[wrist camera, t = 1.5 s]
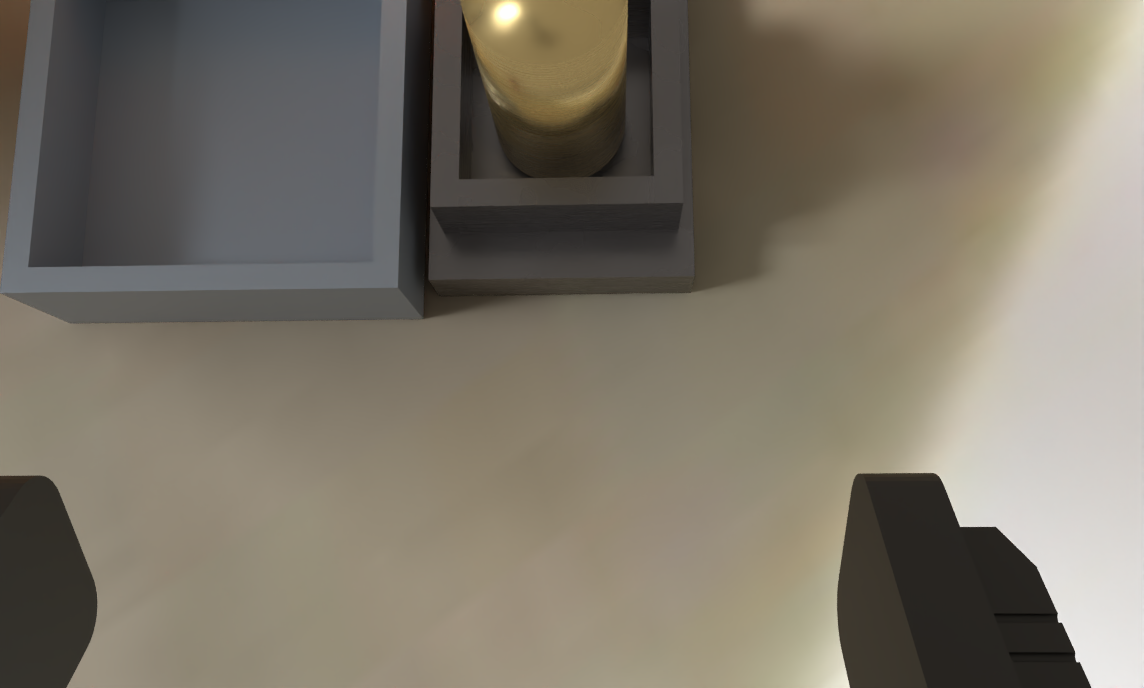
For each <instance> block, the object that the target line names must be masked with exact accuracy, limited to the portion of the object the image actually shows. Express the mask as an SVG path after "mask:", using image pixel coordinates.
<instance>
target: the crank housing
mask: <svg viewBox="0 0 1144 688" xmlns="http://www.w3.org/2000/svg"><path fill="white" fill-rule="evenodd" d="M694 277H695V269H694V231H693V192H692V154H691V115H690V77H689V38H688V0H628V17H627V70H626V121H625V131H624V136H623V139H622V142H621V145H620V147H619V149H618V151H617V152H616V154H615V155H614V156H613V158H612V159H611V160H610V161H609V162H608V163H607V164H606V165H605V166H604V167H603V168H602V169H601V170H599V171H597V172H596V173H594V174H593V175H591V176H589V177H569V178H533V177H531V176H529V175H527V174H525V173H524V172H522V171H521V170H520V169H518V168H517V167H516V166H515V165H514V164H513V163H512V162H511V161H510V160H509V159H508V157H507V156H506V154H505V153H504V151H503V149H502V147H501V144H500V142H499V139H498V135H497V132H496V128H495V125H494V121H493V117H492V114H491V110H490V107H489V103H488V100H487V96H486V93H485V89H484V85H483V82H482V78H481V75H480V71H479V68H478V64H477V60H476V57H475V53H474V50H473V46H472V43H471V39H470V36H469V32H468V28H467V25H466V21H465V18H464V14H463V11H462V7H461V2H460V0H435V29H434V69H433V109H432V149H431V189H430V239H429V279H428V280H429V281H430V283H431V284H432V286H433V287H434V289H435V290H436V292H437V293H438V295H439V296H469V295H546V294H623V293H690V292H691V288H692V284H693V281H694Z"/></svg>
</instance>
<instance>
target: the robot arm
mask: <svg viewBox="0 0 1144 688" xmlns="http://www.w3.org/2000/svg"><path fill="white" fill-rule="evenodd" d="M837 614H838V628H839V637H840V643H841V649H842V653H843V658H844V662H845V667H846V671H847V676H848V680H849V685H850V688H1091V686H1090V684H1089V681H1088V679H1087V677H1086V675H1085V673H1084V670H1083V668H1082V666H1081V664H1080V662H1076V660H1075V651H1074V648H1073V646H1072V644H1071V642H1070V640H1069V637H1068V635H1067V633H1066V631H1065V629H1064V626H1063V624H1062V623H1059V622H1058V619H1057V614H1058V613H1057V611H1056V609H1055V607H1054V604H1053V602H1052V600H1051V598H1050V596H1049V593H1048V591H1047V589H1046V587H1045V585H1044V582H1043V580H1042V578H1041V576H1040V574H1039V571H1038V569H1037V567H1036V566H1035V565H1034V564H1033V563H1032V562H1031V561H1030V560H1029V559H1028V558H1027V557H1026V556H1025V555H1024V554H1023V553H1022V552H1021V551H1020V550H1019V549H1018V548H1017V547H1016V546H1015V545H1014V544H1013V543H1012V542H1011V541H1010V540H1009V539H1008V538H1007V537H1006V536H1005V535H1003V534H1002V533H1001V532H1000V531H999V530H998V529H997V528H996V527H960V526H959V524H958V521H957V518H956V516H955V513H954V511H953V508H952V506H951V503H950V500H949V498H948V495H947V493H946V490H945V488H944V485H943V483H942V481H941V479H940V478H939V476H938V475H936V474H934V473H883V474H857V475H856V477H855V479H854V482H853V485H852V491H851V497H850V504H849V511H848V518H847V525H846V532H845V539H844V546H843V553H842V560H841V567H840V574H839V581H838V592H837ZM96 616H97V592H96V587H95V583H94V580H93V577H92V574H91V572H90V569H89V567H88V564H87V562H86V559H85V557H84V554H83V552H82V549H81V547H80V544H79V541H78V539H77V536H76V534H75V531H74V529H73V526H72V524H71V521H70V519H69V516H68V514H67V511H66V509H65V506H64V503H63V501H62V498H61V496H60V493H59V491H58V489H57V487H56V486H55V484H54V483H53V482H52V481H51V480H50V479H49V478H47V477H45V476H0V688H66V687H67V685H68V683H69V682H70V680H71V678H72V676H73V674H74V672H75V670H76V668H77V666H78V664H79V662H80V660H81V659H82V657H83V655H84V653H85V651H86V649H87V647H88V645H89V643H90V640H91V637H92V634H93V631H94V627H95V622H96Z"/></svg>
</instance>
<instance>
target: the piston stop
mask: <svg viewBox="0 0 1144 688" xmlns="http://www.w3.org/2000/svg"><path fill="white" fill-rule="evenodd" d="M460 2H461V7H462V11H463V14H464V18H465V21H466V25H467V28H468V32H469V36H470V39H471V43H472V46H473V50H474V53H475V57H476V60H477V64H478V68H479V71H480V75H481V78H482V82H483V85H484V89H485V93H486V96H487V100H488V103H489V107H490V110H491V114H492V117H493V121H494V125H495V128H496V132H497V135H498V139H499V142H500V144H501V147H502V149H503V151H504V153H505V154H506V156H507V157H508V159H509V160H510V161H511V162H512V163H513V164H514V165H515V166H516V167H517V168H518V169H520V170H521V171H522V172H524V173H525V174H527V175H529V176H531V177H533V178H569V177H589V176H591V175H593V174H594V173H596V172H597V171H599V170H601V169H602V168H603V167H604V166H605V165H606V164H607V163H608V162H609V161H610V160H611V159H612V158H613V156H614V155H615V154H616V152H617V151H618V149H619V147H620V145H621V142H622V139H623V136H624V131H625V121H626V70H627V17H628V0H460Z"/></svg>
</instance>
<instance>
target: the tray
mask: <svg viewBox="0 0 1144 688" xmlns="http://www.w3.org/2000/svg"><path fill="white" fill-rule="evenodd" d="M431 1H432V0H31V6H30V15H29V25H28V34H27V43H26V53H25V62H24V72H23V81H22V90H21V100H20V109H19V118H18V128H17V137H16V147H15V156H14V165H13V175H12V184H11V194H10V203H9V212H8V222H7V231H6V241H5V250H4V259H3V269H2V278H1V287H0V293H1V294H3V295H6V296H8V297H10V298H13V299H15V300H17V301H20V302H22V303H24V304H27V305H29V306H31V307H34V308H36V309H38V310H41V311H43V312H45V313H48V314H50V315H52V316H55V317H57V318H59V319H62V320H64V321H66V322H68V323H129V322H212V321H294V320H377V319H423V312H424V273H425V234H426V195H427V156H428V117H429V78H430V40H431Z"/></svg>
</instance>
